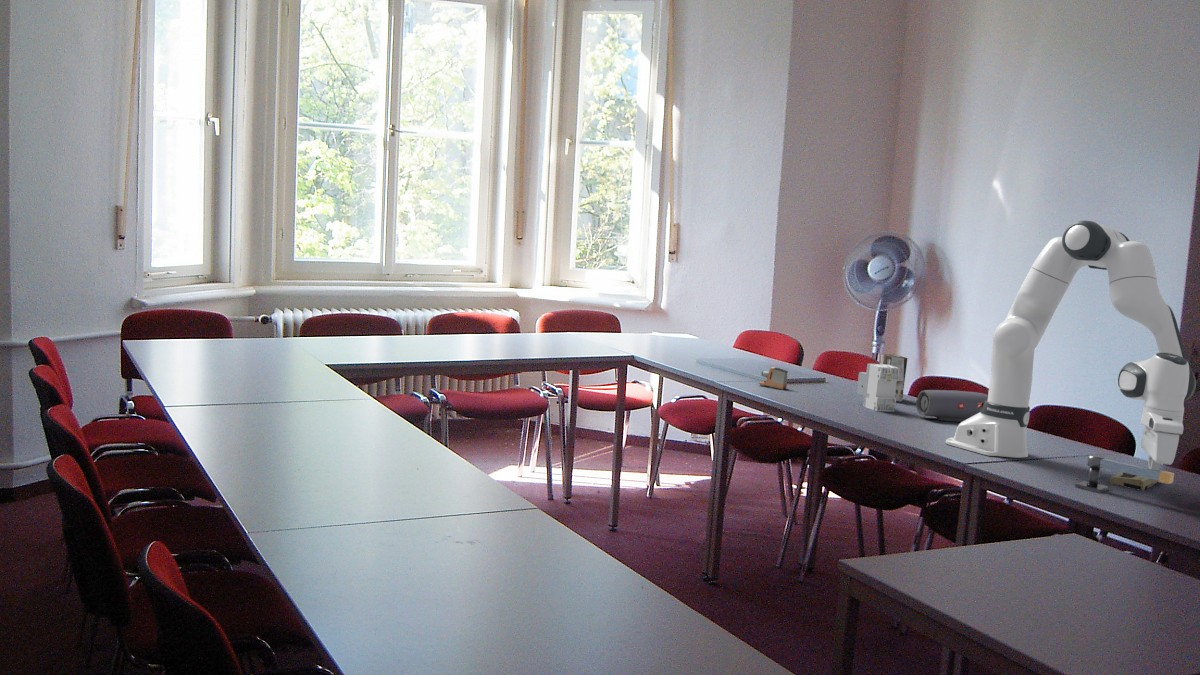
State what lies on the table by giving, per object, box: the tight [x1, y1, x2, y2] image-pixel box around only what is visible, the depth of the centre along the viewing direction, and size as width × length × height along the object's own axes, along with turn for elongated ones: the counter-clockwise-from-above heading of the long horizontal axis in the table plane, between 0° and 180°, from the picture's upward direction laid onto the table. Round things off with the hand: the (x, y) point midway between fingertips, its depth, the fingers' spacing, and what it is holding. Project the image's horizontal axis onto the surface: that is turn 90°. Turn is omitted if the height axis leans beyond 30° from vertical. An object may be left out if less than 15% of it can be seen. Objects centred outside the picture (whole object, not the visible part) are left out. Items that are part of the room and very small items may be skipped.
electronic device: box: [758, 366, 788, 390], centre depth 378 cm, size 4×10×8 cm, turn 62°
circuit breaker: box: [856, 363, 899, 412], centre depth 353 cm, size 8×14×15 cm, turn 18°
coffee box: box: [879, 353, 909, 402], centre depth 374 cm, size 9×6×16 cm
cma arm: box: [1086, 454, 1175, 485], centre depth 251 cm, size 20×4×2 cm, turn 42°
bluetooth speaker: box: [915, 389, 988, 422], centre depth 341 cm, size 23×9×10 cm, turn 102°
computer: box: [1109, 472, 1159, 491], centre depth 268 cm, size 16×8×3 cm, turn 138°
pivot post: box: [1074, 466, 1110, 494], centre depth 257 cm, size 6×6×6 cm
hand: (1152, 474), depth 253 cm, fingers closed
